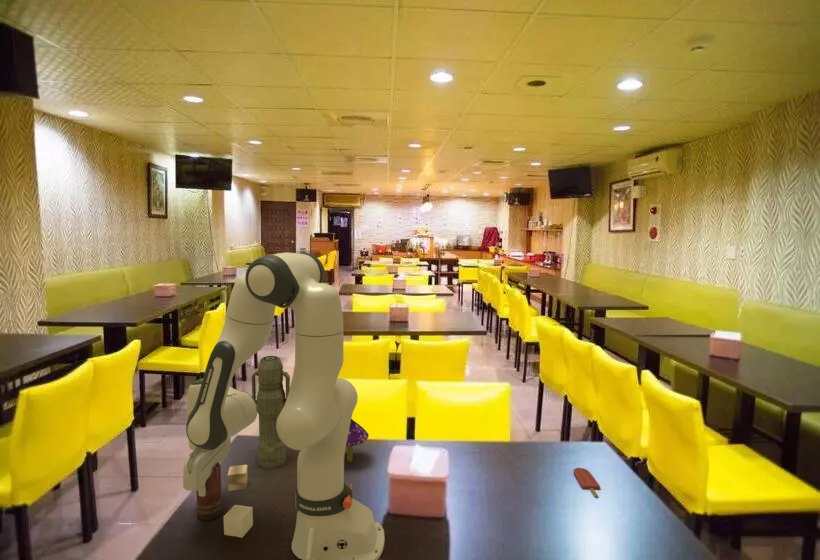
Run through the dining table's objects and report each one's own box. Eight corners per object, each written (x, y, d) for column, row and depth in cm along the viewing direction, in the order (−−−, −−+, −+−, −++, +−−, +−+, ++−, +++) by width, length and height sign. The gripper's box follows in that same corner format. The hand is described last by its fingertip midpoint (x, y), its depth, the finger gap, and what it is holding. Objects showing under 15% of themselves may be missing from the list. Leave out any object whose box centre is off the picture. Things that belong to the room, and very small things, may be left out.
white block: (253, 525, 120) (252, 507, 120) (242, 537, 115) (241, 519, 115) (235, 522, 121) (234, 504, 121) (224, 535, 116) (223, 516, 116)
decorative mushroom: (328, 455, 157) (328, 412, 155) (365, 450, 160) (365, 409, 158) (332, 474, 145) (331, 428, 143) (371, 469, 148) (372, 424, 146)
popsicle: (587, 494, 134) (570, 467, 149) (587, 499, 134) (570, 471, 149) (606, 494, 134) (587, 467, 149) (605, 499, 134) (587, 472, 149)
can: (214, 522, 121) (212, 472, 119) (192, 519, 122) (190, 469, 120) (227, 509, 127) (225, 460, 125) (206, 505, 128) (204, 457, 126)
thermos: (289, 468, 148) (287, 361, 144) (251, 469, 147) (248, 362, 143) (293, 454, 157) (291, 353, 153) (257, 456, 156) (254, 354, 152)
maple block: (247, 480, 141) (247, 464, 141) (246, 489, 136) (245, 473, 136) (230, 482, 140) (229, 466, 139) (228, 491, 135) (227, 475, 135)
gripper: (200, 457, 112) (202, 511, 113) (234, 421, 132) (235, 467, 133) (174, 457, 112) (177, 510, 113) (212, 421, 132) (214, 467, 134)
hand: (209, 487), depth 124 cm, fingers closed on can, 6 cm apart
